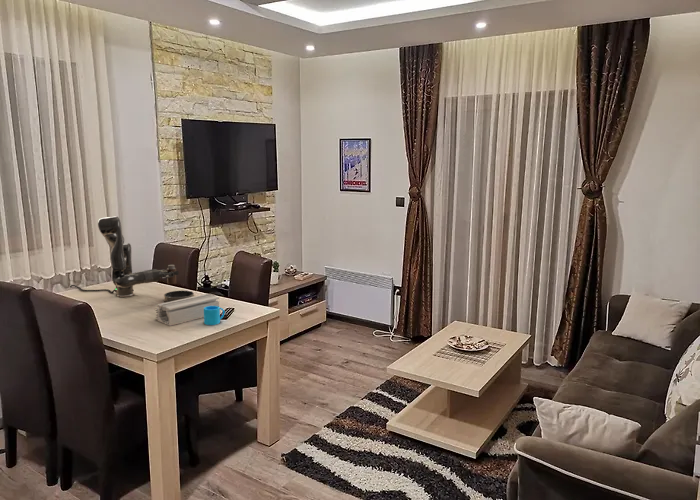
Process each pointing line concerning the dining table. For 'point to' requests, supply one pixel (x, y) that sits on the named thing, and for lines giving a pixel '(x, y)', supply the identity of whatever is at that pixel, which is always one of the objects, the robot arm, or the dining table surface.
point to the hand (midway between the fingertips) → (175, 271)
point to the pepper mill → (172, 279)
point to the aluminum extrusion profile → (185, 309)
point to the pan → (177, 295)
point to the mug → (212, 315)
